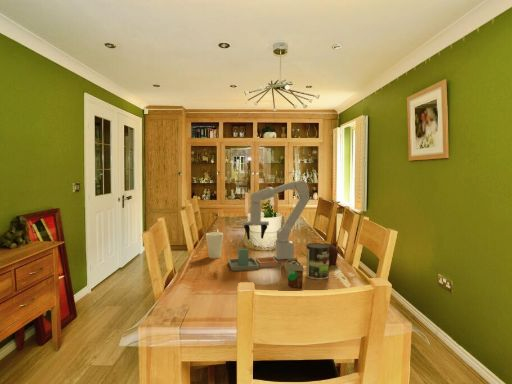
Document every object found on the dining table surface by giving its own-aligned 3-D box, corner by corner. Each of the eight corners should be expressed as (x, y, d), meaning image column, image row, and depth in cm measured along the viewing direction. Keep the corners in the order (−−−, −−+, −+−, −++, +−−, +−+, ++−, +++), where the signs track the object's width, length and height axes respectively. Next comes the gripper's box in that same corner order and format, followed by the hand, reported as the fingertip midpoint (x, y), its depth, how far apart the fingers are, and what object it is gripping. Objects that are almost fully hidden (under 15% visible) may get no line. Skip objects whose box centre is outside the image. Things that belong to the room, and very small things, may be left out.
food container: (282, 280, 146) (282, 258, 145) (296, 280, 147) (296, 257, 146) (287, 290, 134) (288, 266, 133) (303, 290, 134) (303, 265, 134)
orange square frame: (272, 261, 176) (272, 256, 176) (277, 266, 167) (277, 261, 167) (255, 262, 174) (255, 257, 174) (259, 267, 165) (259, 262, 165)
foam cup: (220, 259, 180) (219, 235, 179) (203, 258, 182) (203, 235, 181) (225, 255, 190) (225, 232, 189) (209, 254, 191) (209, 231, 191)
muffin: (319, 259, 180) (319, 241, 180) (340, 261, 176) (340, 242, 175) (313, 265, 170) (313, 245, 169) (335, 267, 165) (335, 247, 164)
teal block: (246, 263, 171) (246, 247, 170) (248, 265, 166) (248, 249, 166) (238, 263, 170) (237, 248, 169) (239, 266, 165) (239, 250, 165)
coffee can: (333, 277, 150) (334, 246, 149) (315, 281, 145) (315, 249, 144) (319, 271, 159) (319, 242, 158) (301, 274, 155) (301, 244, 154)
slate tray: (252, 261, 176) (252, 257, 176) (258, 269, 163) (258, 265, 163) (228, 263, 173) (228, 259, 173) (232, 271, 160) (232, 266, 160)
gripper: (243, 215, 178) (243, 240, 179) (270, 214, 181) (269, 239, 182) (241, 213, 185) (241, 237, 186) (267, 213, 188) (266, 237, 189)
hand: (255, 238), depth 184 cm, fingers open, 7 cm apart
